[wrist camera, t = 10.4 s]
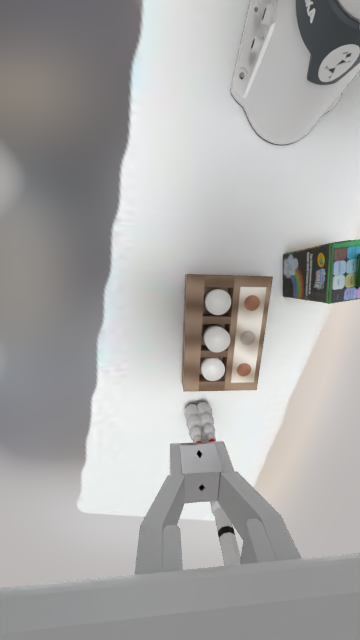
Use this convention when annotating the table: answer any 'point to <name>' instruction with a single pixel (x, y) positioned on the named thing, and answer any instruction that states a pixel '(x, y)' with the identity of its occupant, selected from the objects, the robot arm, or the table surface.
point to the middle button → (216, 338)
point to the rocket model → (204, 432)
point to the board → (240, 323)
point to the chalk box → (323, 272)
